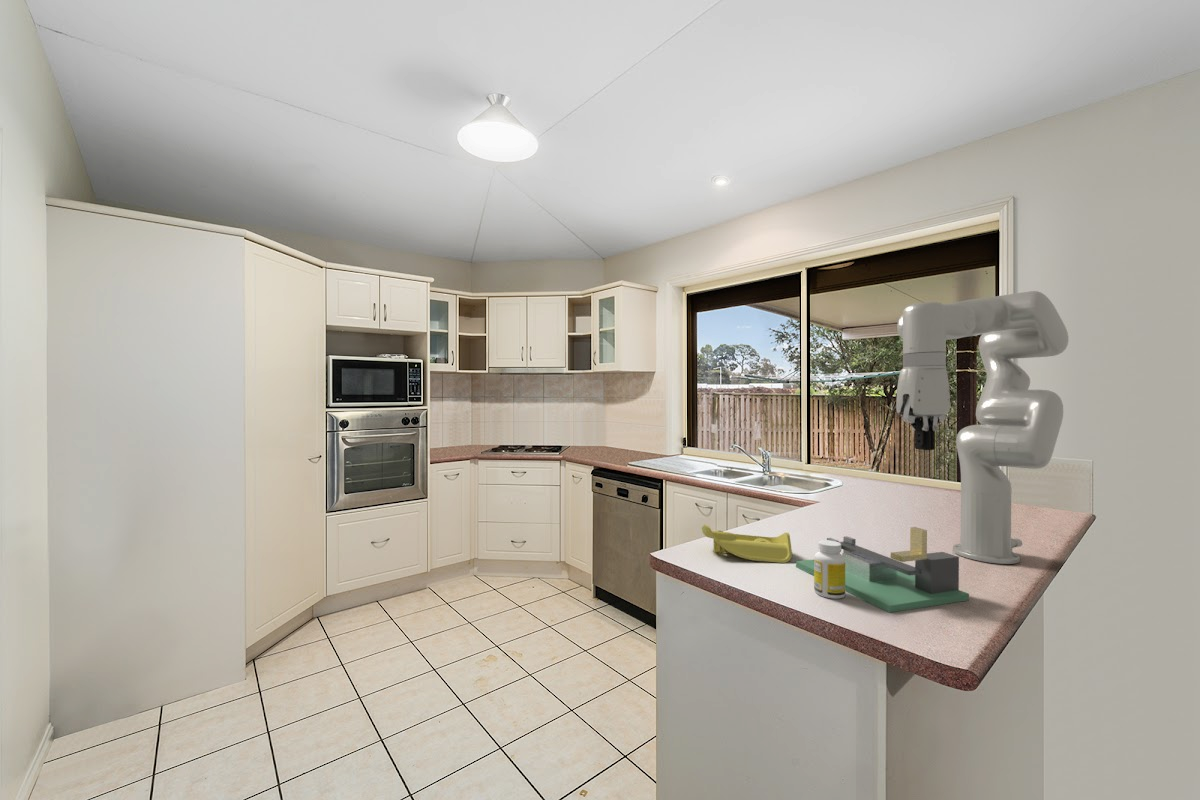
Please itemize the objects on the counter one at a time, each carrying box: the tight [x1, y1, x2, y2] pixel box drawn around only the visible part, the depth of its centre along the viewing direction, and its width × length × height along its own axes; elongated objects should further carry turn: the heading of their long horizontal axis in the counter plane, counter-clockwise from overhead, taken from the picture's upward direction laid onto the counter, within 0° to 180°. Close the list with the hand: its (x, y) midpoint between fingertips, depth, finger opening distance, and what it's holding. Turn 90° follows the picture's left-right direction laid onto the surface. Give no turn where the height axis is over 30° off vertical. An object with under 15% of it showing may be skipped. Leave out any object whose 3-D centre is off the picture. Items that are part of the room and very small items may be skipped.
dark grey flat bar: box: [839, 541, 921, 575], centre depth 99 cm, size 3×18×1 cm, turn 17°
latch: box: [890, 526, 928, 563], centre depth 90 cm, size 6×2×5 cm, turn 107°
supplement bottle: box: [813, 539, 846, 600], centre depth 92 cm, size 5×5×10 cm
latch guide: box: [914, 551, 960, 594], centre depth 92 cm, size 7×3×6 cm, turn 107°
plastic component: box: [701, 524, 793, 564], centre depth 116 cm, size 20×7×10 cm
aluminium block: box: [841, 552, 897, 581], centre depth 100 cm, size 7×7×4 cm
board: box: [795, 535, 970, 613], centre depth 98 cm, size 19×24×6 cm
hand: (924, 449), depth 101 cm, fingers closed
